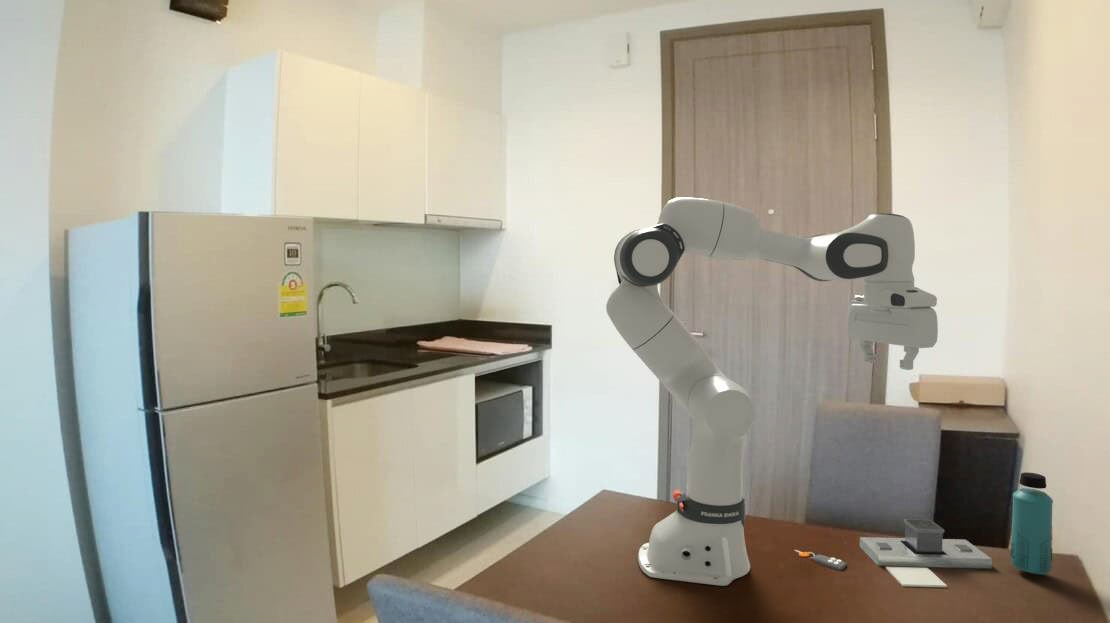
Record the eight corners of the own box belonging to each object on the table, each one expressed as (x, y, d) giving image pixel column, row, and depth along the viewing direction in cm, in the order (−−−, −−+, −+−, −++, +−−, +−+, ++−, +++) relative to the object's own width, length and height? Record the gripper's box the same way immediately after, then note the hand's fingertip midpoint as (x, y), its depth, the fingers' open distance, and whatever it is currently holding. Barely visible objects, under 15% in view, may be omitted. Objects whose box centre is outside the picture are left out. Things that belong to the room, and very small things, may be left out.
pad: (902, 586, 118) (902, 584, 118) (885, 568, 125) (885, 566, 125) (946, 587, 117) (946, 585, 117) (927, 569, 124) (927, 567, 124)
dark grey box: (915, 562, 127) (916, 529, 127) (903, 551, 133) (904, 519, 132) (943, 563, 127) (944, 530, 127) (929, 551, 132) (930, 519, 132)
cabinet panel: (877, 565, 126) (878, 554, 126) (859, 546, 135) (859, 535, 135) (991, 568, 125) (991, 557, 124) (965, 548, 134) (965, 538, 133)
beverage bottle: (1058, 583, 118) (1063, 480, 117) (1019, 580, 120) (1023, 478, 118) (1039, 567, 125) (1043, 470, 123) (1002, 565, 126) (1006, 468, 125)
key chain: (848, 567, 127) (848, 560, 127) (840, 573, 124) (840, 566, 124) (786, 547, 136) (787, 540, 136) (778, 552, 133) (779, 545, 133)
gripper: (838, 295, 132) (838, 359, 133) (916, 298, 112) (915, 374, 113) (864, 294, 134) (863, 358, 134) (944, 297, 114) (943, 372, 115)
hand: (887, 365), depth 124 cm, fingers open, 8 cm apart
